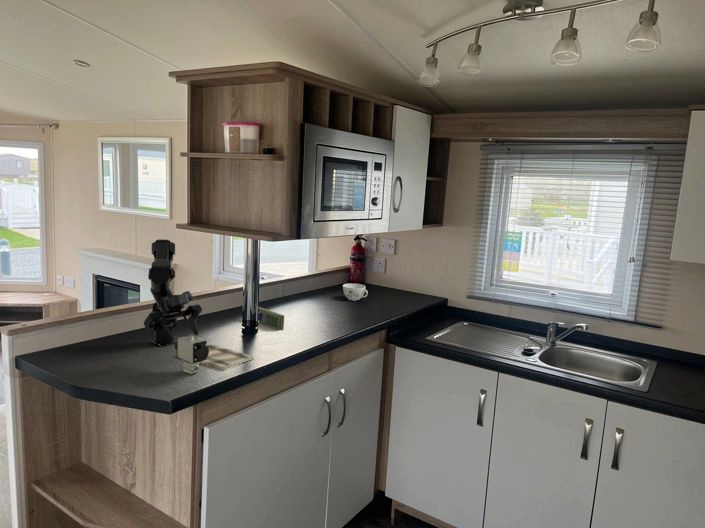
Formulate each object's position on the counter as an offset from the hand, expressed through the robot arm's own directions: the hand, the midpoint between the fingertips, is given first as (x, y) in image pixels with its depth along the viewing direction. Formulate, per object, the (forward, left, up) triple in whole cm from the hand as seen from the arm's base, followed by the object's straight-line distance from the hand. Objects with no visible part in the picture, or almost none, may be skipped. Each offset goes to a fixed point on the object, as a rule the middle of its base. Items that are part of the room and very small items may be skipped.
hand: (185, 337), depth 162 cm
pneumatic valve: (+4, 0, -11) cm, 11 cm away
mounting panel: (0, +14, -10) cm, 17 cm away
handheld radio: (-16, +58, -11) cm, 61 cm away
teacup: (-10, +127, -11) cm, 128 cm away
